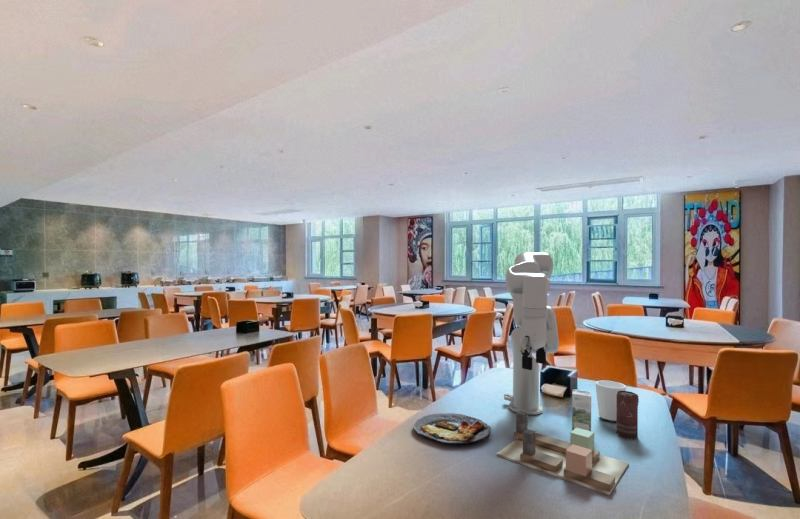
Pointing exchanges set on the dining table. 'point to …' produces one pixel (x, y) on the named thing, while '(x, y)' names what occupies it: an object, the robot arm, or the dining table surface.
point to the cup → (608, 398)
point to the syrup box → (581, 409)
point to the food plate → (452, 428)
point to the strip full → (544, 437)
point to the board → (601, 464)
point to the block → (579, 460)
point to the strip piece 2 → (593, 479)
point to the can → (627, 415)
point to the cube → (582, 438)
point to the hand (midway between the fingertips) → (534, 366)
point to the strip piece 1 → (537, 453)
